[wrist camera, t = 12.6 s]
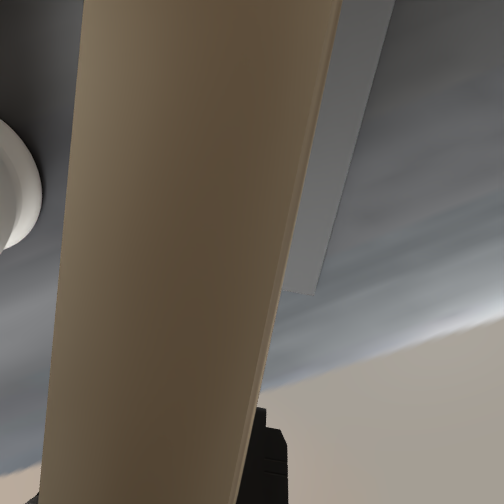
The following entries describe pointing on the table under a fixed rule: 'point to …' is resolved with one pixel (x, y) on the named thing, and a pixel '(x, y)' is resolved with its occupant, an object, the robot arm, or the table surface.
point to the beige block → (176, 240)
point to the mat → (335, 136)
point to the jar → (17, 188)
